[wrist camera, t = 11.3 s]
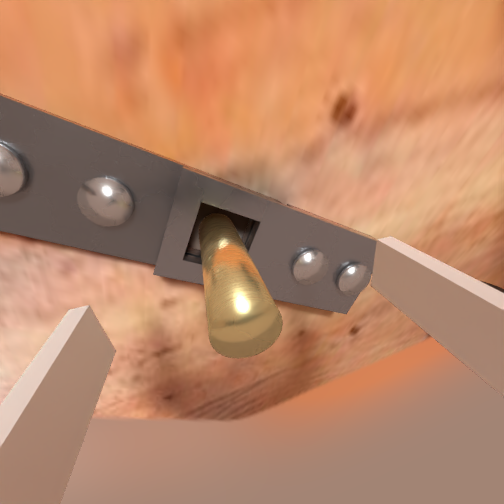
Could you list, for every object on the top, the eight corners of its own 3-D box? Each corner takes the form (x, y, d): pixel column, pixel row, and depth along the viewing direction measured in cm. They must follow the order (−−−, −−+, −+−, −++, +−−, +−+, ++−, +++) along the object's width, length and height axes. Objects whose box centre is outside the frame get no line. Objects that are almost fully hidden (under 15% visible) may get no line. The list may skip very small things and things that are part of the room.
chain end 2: (157, 258, 20) (152, 278, 17) (183, 164, 17) (182, 168, 14) (332, 298, 26) (349, 318, 24) (369, 235, 24) (394, 248, 21)
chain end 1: (277, 200, 20) (285, 205, 18) (244, 278, 23) (248, 288, 21) (-87, 60, 12) (-129, 47, 11) (-76, 204, 15) (-108, 212, 13)
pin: (194, 217, 19) (201, 311, 8) (230, 210, 19) (279, 291, 9) (203, 249, 20) (217, 366, 10) (236, 242, 21) (284, 346, 10)
